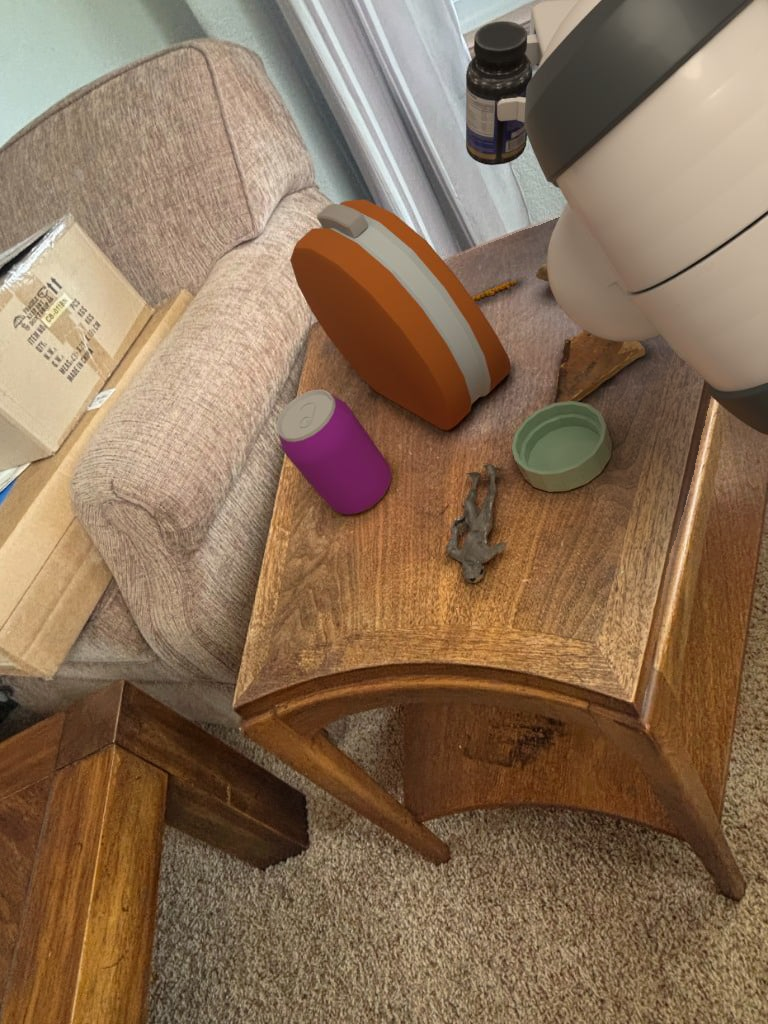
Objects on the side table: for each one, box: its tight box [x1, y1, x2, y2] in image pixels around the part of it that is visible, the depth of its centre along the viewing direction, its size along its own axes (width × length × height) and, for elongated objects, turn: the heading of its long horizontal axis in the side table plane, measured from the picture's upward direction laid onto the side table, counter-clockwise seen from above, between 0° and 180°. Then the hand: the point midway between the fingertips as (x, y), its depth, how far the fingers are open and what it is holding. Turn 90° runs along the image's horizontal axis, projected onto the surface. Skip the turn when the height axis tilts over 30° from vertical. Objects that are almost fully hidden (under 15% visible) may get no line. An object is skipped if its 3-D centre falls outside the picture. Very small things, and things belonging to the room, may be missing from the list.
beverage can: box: [276, 389, 392, 515], centre depth 73 cm, size 8×8×12 cm
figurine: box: [445, 462, 507, 584], centre depth 66 cm, size 6×4×12 cm
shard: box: [553, 329, 646, 404], centre depth 73 cm, size 11×8×2 cm
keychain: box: [472, 280, 517, 302], centre depth 87 cm, size 8×1×1 cm
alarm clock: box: [289, 198, 512, 431], centre depth 74 cm, size 22×10×23 cm, turn 39°
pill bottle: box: [465, 20, 533, 166], centre depth 70 cm, size 6×6×11 cm
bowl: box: [511, 401, 613, 493], centre depth 67 cm, size 8×8×3 cm
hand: (492, 84), depth 69 cm, fingers closed on pill bottle, 6 cm apart
